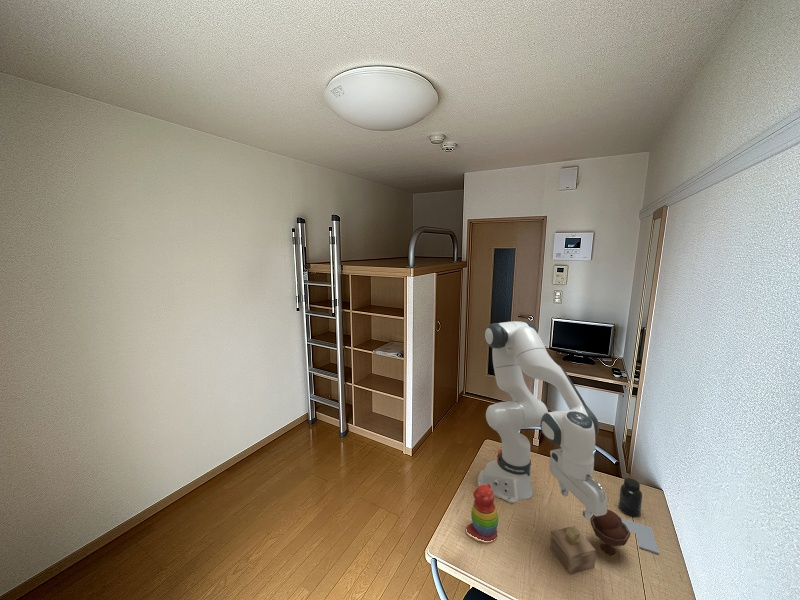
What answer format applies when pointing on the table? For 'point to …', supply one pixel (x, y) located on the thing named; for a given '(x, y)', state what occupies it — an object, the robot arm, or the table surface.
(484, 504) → the stacking bear
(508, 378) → the robot arm
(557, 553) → the walnut box
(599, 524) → the ice cream bowl
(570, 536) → the lid
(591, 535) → the table surface
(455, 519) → the table surface
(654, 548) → the felt pad
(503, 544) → the table surface
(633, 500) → the supplement bottle
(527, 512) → the table surface
